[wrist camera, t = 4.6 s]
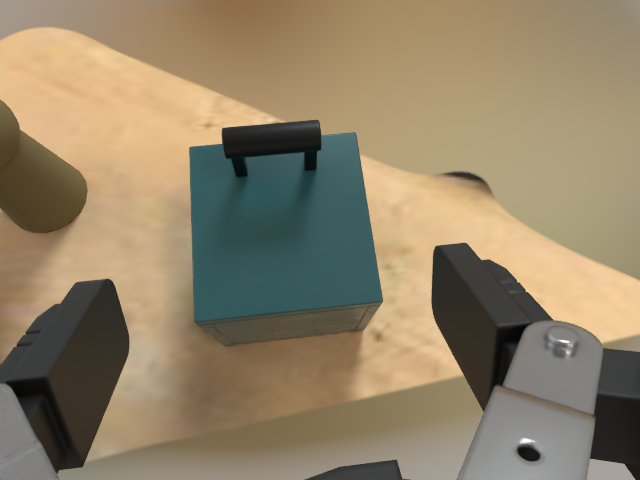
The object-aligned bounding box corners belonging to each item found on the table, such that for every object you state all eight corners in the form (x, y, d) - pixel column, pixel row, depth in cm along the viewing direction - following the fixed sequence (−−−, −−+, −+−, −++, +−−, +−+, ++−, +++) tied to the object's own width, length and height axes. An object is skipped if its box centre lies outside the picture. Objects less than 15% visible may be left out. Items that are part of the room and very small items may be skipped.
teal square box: (217, 215, 38) (192, 160, 29) (345, 203, 38) (356, 146, 30) (223, 346, 34) (197, 325, 26) (364, 330, 35) (381, 305, 27)
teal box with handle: (191, 152, 29) (170, 106, 25) (354, 138, 30) (363, 90, 26) (197, 325, 26) (173, 306, 21) (381, 305, 27) (396, 283, 22)
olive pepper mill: (102, 181, 38) (26, 95, 28) (55, 245, 36) (-45, 179, 26) (39, 150, 39) (-57, 55, 29) (-10, 212, 37) (-132, 134, 27)
